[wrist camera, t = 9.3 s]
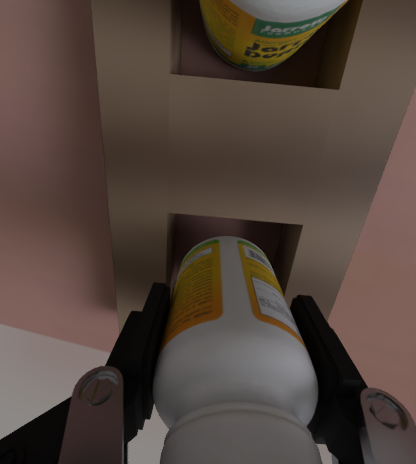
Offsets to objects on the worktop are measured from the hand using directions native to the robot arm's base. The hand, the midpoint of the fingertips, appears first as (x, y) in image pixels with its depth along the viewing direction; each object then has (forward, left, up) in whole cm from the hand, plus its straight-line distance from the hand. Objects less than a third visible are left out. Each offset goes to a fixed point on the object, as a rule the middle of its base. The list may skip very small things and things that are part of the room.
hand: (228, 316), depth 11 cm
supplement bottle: (0, 0, -4) cm, 4 cm away
